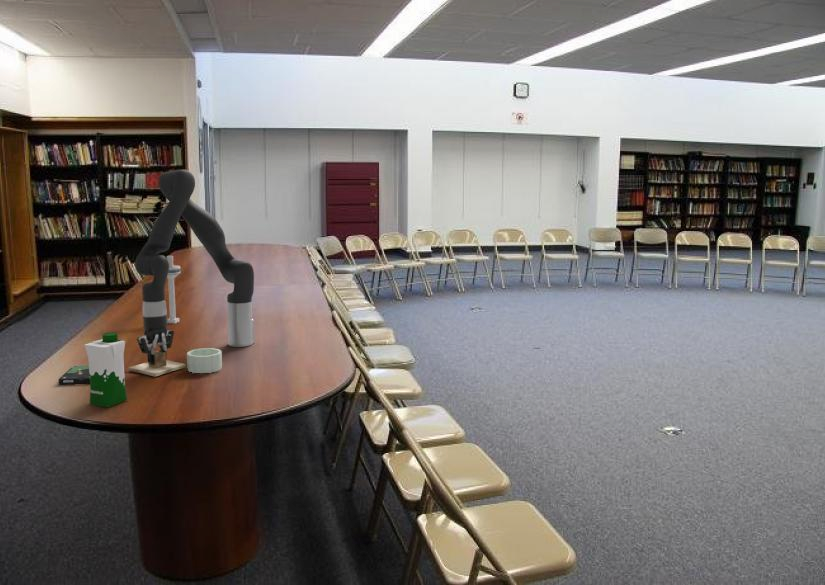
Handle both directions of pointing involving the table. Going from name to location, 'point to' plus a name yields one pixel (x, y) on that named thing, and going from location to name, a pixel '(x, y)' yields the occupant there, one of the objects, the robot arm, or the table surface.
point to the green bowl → (204, 360)
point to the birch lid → (157, 366)
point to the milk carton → (106, 371)
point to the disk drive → (75, 376)
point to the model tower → (172, 289)
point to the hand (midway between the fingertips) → (157, 362)
